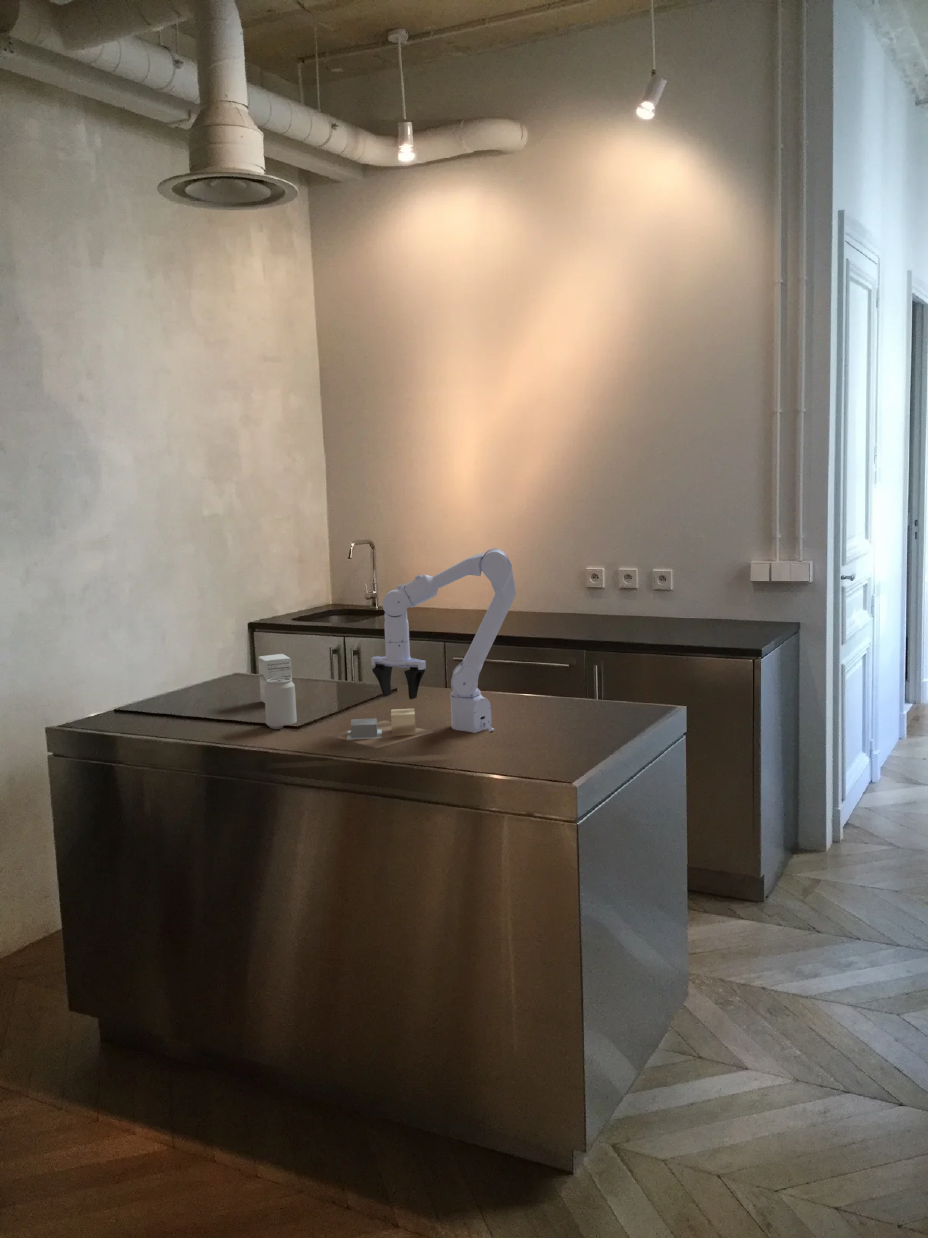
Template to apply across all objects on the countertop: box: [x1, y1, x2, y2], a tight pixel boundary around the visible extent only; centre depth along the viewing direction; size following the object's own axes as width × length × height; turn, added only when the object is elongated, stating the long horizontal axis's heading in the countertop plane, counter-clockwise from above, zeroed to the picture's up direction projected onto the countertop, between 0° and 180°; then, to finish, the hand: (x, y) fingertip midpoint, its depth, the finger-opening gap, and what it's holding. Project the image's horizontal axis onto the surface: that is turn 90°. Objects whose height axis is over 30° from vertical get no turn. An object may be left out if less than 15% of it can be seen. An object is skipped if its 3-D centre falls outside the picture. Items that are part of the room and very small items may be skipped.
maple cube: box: [390, 708, 416, 736], centre depth 259 cm, size 6×6×5 cm
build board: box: [327, 720, 435, 749], centre depth 259 cm, size 18×18×1 cm
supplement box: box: [257, 653, 293, 704], centre depth 299 cm, size 7×7×13 cm
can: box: [264, 677, 298, 730], centre depth 272 cm, size 8×8×12 cm
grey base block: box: [350, 717, 378, 738], centre depth 258 cm, size 6×6×3 cm
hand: (399, 697), depth 262 cm, fingers open, 7 cm apart
